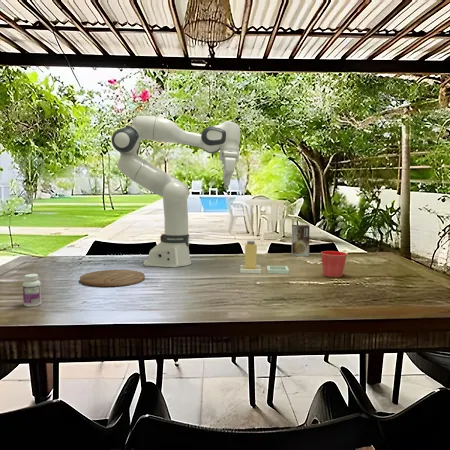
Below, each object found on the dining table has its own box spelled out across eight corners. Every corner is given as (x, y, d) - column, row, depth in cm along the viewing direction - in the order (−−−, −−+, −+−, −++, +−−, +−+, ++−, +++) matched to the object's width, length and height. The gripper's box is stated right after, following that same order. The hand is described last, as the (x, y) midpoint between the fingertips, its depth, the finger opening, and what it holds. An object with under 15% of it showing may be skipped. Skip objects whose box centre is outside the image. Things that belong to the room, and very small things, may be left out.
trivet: (66, 284, 168) (65, 279, 168) (105, 272, 192) (105, 267, 192) (122, 291, 160) (122, 285, 160) (156, 276, 183) (155, 272, 183)
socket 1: (240, 272, 191) (240, 269, 190) (240, 268, 200) (240, 265, 200) (261, 273, 190) (261, 269, 190) (260, 268, 199) (260, 265, 199)
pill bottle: (27, 302, 143) (25, 273, 142) (43, 302, 144) (42, 273, 143) (20, 307, 138) (19, 276, 137) (38, 306, 138) (37, 276, 137)
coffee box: (308, 254, 239) (309, 224, 238) (309, 256, 233) (310, 226, 231) (291, 253, 240) (291, 224, 238) (291, 255, 234) (292, 225, 232)
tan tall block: (244, 271, 193) (245, 242, 191) (244, 269, 198) (245, 240, 196) (256, 272, 192) (256, 242, 191) (256, 269, 197) (256, 240, 196)
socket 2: (267, 273, 190) (268, 269, 190) (267, 269, 199) (267, 265, 199) (288, 273, 190) (289, 270, 190) (287, 269, 199) (287, 266, 199)
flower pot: (347, 274, 190) (348, 251, 189) (343, 279, 180) (344, 255, 179) (323, 271, 195) (324, 250, 194) (317, 276, 185) (318, 253, 184)
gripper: (220, 160, 214) (218, 188, 213) (223, 151, 194) (221, 182, 193) (233, 161, 214) (231, 189, 214) (238, 152, 194) (235, 183, 193)
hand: (226, 186), depth 203 cm, fingers open, 8 cm apart
